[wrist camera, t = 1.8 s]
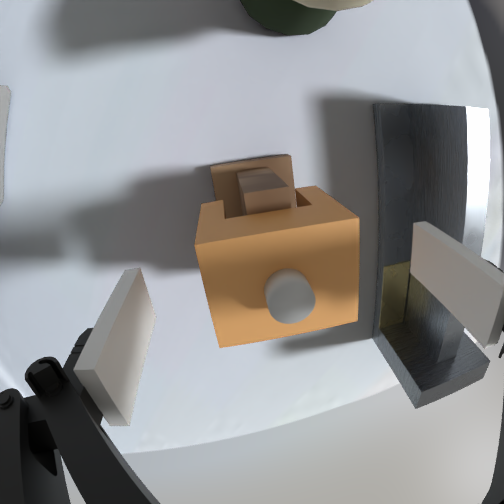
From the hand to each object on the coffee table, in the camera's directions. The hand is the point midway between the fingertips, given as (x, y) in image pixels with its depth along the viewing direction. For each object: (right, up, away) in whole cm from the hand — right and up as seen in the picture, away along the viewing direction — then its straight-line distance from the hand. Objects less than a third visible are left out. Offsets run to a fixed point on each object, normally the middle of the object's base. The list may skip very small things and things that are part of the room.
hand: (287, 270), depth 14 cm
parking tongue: (-1, +3, +7) cm, 8 cm away
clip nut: (-1, +2, +4) cm, 4 cm away
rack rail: (+11, +2, +9) cm, 15 cm away
